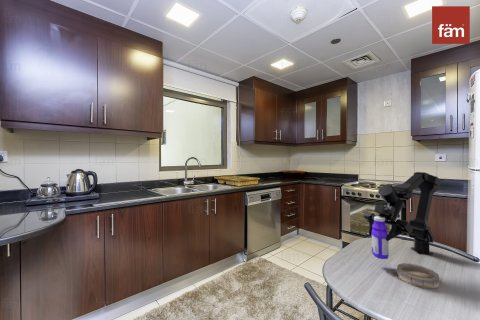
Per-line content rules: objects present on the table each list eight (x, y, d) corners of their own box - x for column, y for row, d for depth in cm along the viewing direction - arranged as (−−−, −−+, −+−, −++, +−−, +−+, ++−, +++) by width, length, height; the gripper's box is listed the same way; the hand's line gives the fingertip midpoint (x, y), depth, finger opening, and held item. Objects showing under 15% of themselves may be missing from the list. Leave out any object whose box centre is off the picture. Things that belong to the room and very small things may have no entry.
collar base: (390, 269, 94) (390, 262, 94) (424, 271, 92) (424, 264, 92) (409, 287, 81) (409, 279, 81) (448, 289, 79) (448, 281, 79)
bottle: (391, 260, 93) (390, 219, 92) (377, 260, 93) (376, 219, 93) (382, 253, 100) (382, 215, 99) (369, 252, 101) (368, 214, 100)
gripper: (365, 195, 106) (349, 221, 102) (408, 202, 89) (392, 233, 85) (375, 209, 110) (361, 235, 105) (419, 218, 93) (404, 249, 88)
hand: (377, 237), depth 96 cm, fingers closed on bottle, 7 cm apart
